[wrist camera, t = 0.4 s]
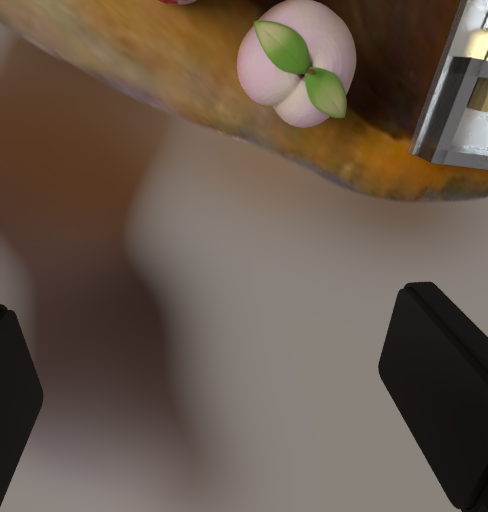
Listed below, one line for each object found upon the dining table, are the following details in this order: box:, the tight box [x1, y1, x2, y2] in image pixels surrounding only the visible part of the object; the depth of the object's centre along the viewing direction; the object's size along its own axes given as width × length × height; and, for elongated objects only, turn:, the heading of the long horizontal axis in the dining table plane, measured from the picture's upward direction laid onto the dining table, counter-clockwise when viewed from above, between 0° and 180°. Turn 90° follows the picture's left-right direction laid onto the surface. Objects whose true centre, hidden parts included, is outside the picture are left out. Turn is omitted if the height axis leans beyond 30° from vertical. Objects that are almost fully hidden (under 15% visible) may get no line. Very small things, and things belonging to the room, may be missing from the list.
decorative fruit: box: [237, 0, 356, 128], centre depth 29 cm, size 9×8×10 cm
